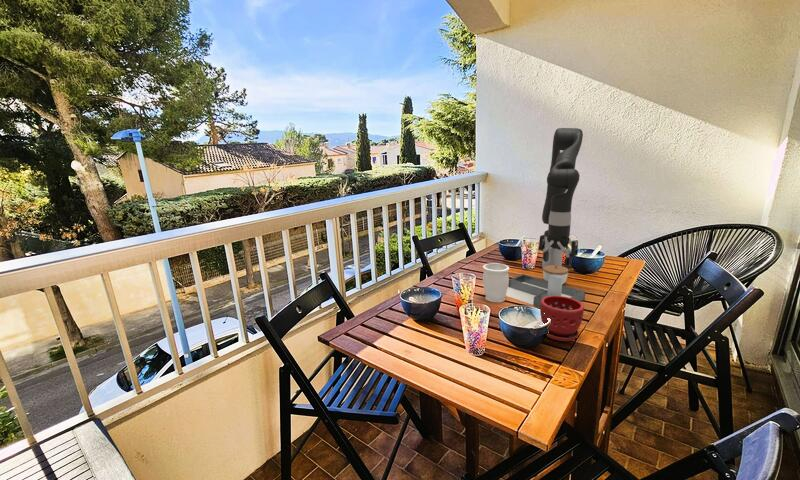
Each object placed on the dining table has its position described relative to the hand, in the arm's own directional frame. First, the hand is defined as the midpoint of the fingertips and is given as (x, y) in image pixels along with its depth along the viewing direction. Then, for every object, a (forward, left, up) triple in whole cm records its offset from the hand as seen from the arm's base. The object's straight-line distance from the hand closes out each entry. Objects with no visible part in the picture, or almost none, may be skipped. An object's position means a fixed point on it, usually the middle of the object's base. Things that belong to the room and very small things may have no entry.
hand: (556, 263), depth 132 cm
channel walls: (-5, -9, -18) cm, 20 cm away
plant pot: (+18, +12, -19) cm, 29 cm away
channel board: (-5, -9, -18) cm, 21 cm away
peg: (0, 0, -18) cm, 18 cm away
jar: (+11, -20, -19) cm, 29 cm away
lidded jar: (-23, -12, -19) cm, 32 cm away
